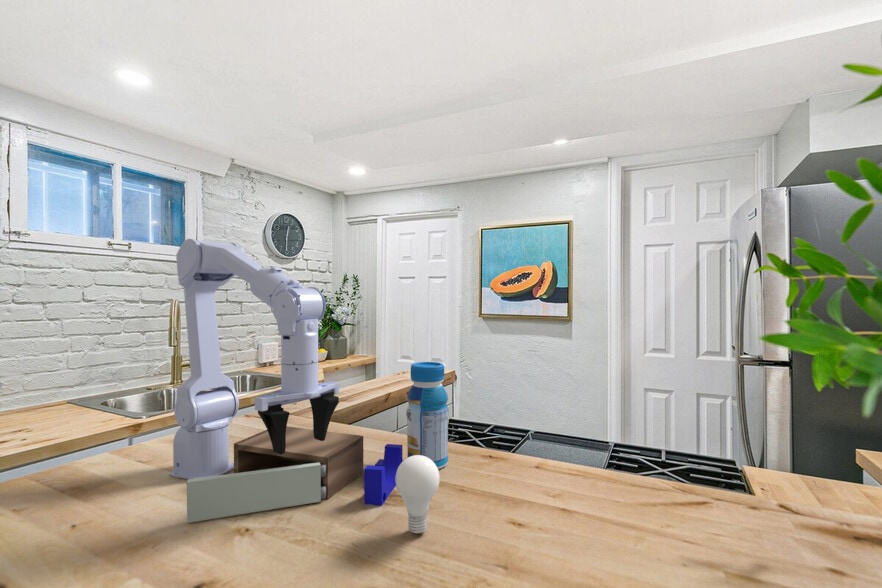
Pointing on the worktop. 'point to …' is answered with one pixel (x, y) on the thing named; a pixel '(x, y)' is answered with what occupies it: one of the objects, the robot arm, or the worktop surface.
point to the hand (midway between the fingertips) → (300, 445)
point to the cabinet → (305, 455)
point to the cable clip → (382, 476)
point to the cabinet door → (254, 491)
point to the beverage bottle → (428, 413)
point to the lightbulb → (417, 489)
